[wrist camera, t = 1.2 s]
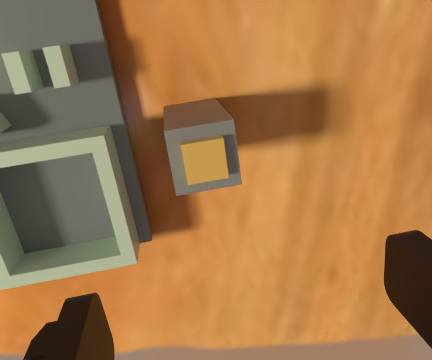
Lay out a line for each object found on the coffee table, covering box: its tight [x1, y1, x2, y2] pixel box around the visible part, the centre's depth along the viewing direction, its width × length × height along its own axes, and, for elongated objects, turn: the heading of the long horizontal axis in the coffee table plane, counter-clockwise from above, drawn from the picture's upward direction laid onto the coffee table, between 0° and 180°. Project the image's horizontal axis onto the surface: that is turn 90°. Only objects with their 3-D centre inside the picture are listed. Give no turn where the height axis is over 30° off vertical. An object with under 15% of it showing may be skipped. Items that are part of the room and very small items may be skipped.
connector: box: [163, 98, 242, 196], centre depth 24 cm, size 4×4×9 cm
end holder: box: [0, 125, 140, 290], centre depth 26 cm, size 10×10×3 cm
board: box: [0, 0, 152, 253], centre depth 26 cm, size 12×19×4 cm, turn 9°
